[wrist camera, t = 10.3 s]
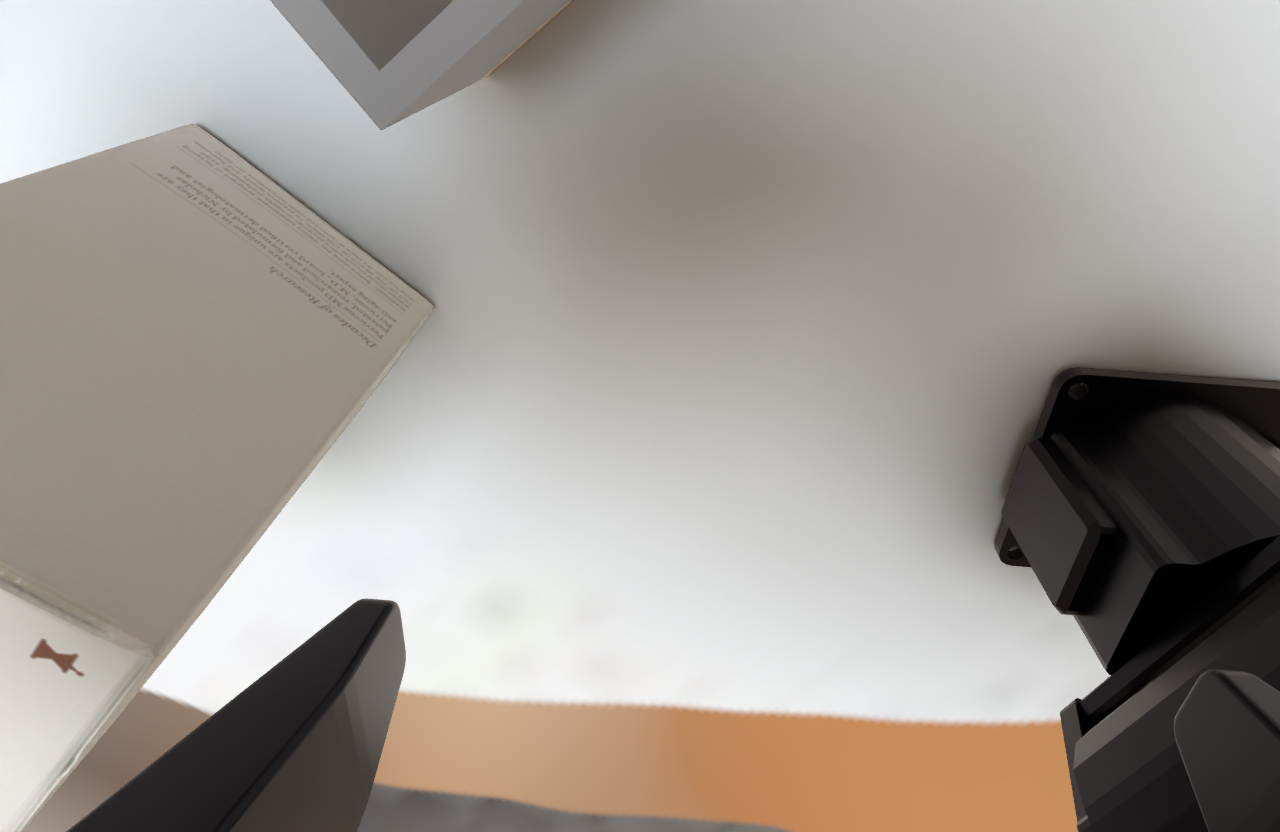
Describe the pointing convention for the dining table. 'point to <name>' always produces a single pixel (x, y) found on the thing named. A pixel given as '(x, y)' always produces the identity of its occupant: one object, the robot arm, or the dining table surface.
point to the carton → (413, 45)
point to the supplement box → (156, 415)
